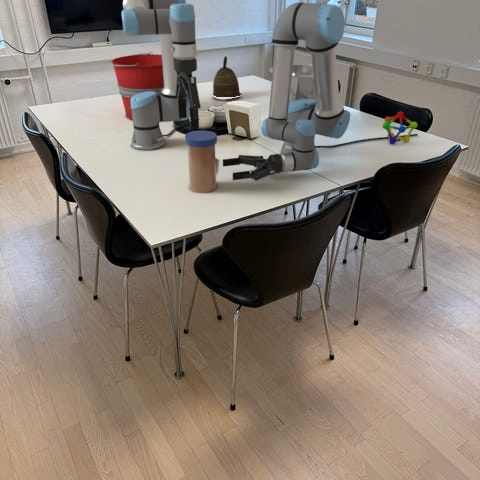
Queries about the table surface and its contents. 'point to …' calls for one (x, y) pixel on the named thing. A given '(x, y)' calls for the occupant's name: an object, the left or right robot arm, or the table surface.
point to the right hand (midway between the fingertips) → (227, 169)
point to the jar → (202, 168)
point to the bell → (225, 82)
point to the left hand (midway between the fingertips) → (188, 123)
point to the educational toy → (398, 128)
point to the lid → (201, 138)
